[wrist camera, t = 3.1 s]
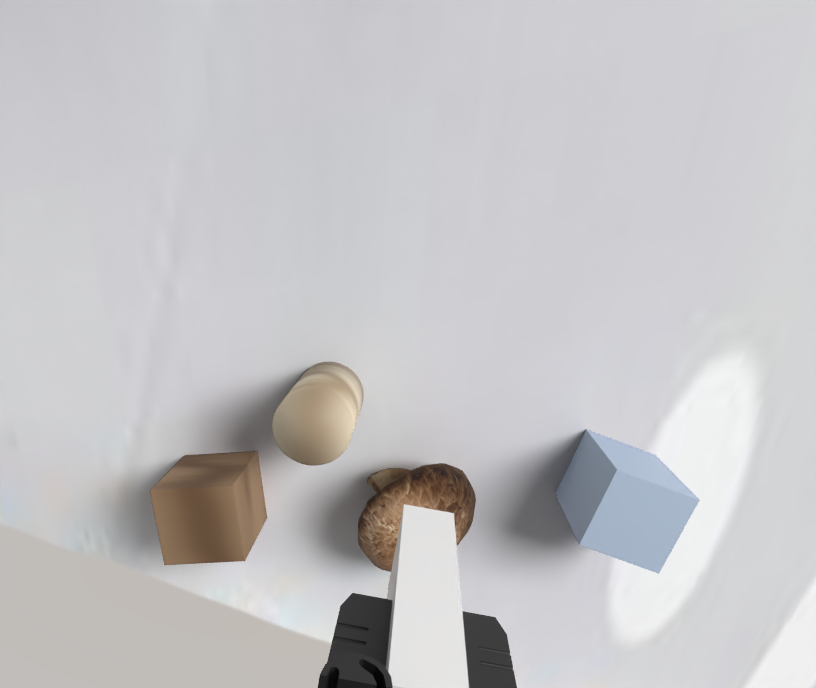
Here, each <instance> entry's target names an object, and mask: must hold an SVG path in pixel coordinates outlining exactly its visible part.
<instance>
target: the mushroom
mask: <svg viewBox="0 0 816 688" xmlns="http://www.w3.org/2000/svg"><path fill="white" fill-rule="evenodd" d="M367 483H368V484H369V485H370V486H371V487H372V488H373V489H374V490H375V491H376V493H377V494H376V495H375V496H373V497H372V498H371V499H370V500H369V501H368V502H367V504H366V506H365V508H364V510H363V512H362V514H361V516H360V518H359V524H358V542H359V545H360V547H361V549H362V550H363V552H364V553H365V554H366V555H367V557H368V558H369V559H370V560H371V562H372V563H373V564H374V565H375V566H376V567H378V568H380V569H382V570H386V571H391V570H392V565H393V560H394V554H395V549H396V544H397V539H398V533H399V528H400V523H401V518H402V512H403V507H404V504H405V505H411V506H416V507H422V508H428V509H433V510H439V511H444V512H450V513H454V520H455V532H456V543H457V545H458V544H459V543H460V541H461V540H462V539H463V537H464V536H465V535H466V533H467V532H468V530H469V528H470V526H471V524H472V521H473V515H474V508H475V501H476V499H475V493H474V490H473V488H472V486H471V484H470V482H469V480H468V479H467V477H466V475H465V474H464V472H463V471H462V470H460V469H458V468H455V467H453V466H450V465H447V464H441V463H440V464H432V465H424V466H421V467H419V468H416V469H414V470H409V469H403V468H388V469H385V470H381V471H378V472H376V473H374V474H371V475H370V476H369V478H368V480H367Z"/></svg>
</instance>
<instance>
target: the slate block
mask: <svg viewBox="0 0 816 688" xmlns="http://www.w3.org/2000/svg"><path fill="white" fill-rule="evenodd" d="M555 495H556V497H557V499H558V501H559V503H560V506H561V508H562V510H563V512H564V514H565V516H566V518H567V520H568V522H569V525H570V527H571V529H572V531H573V533H574V535H575V537H576V539H577V541H578V543H579V545H581V546H584V547H586V548H589V549H592V550H595V551H598V552H600V553H603V554H606V555H609V556H612V557H614V558H617V559H620V560H623V561H625V562H628V563H631V564H634V565H637V566H639V567H642V568H645V569H648V570H651V571H653V572H656V573H659V572H660V571H661V569H662V567H663V565H664V563H665V561H666V560H667V558H668V556H669V554H670V552H671V551H672V549H673V547H674V545H675V543H676V542H677V540H678V538H679V536H680V534H681V533H682V531H683V529H684V527H685V525H686V524H687V522H688V520H689V518H690V516H691V514H692V513H693V511H694V509H695V507H696V505H697V504H698V502H699V499H698V498H697V497H696V496H695V495H694V494H693V493H692V492H691V491H690V490H689V489H688V488H687V487H686V486H685V485H684V484H683V483H682V482H681V481H680V480H679V479H678V478H677V476H676V475H675V474H674V473H673V472H672V471H671V470H670V469H669V468H668V467H667V466H666V465H665V464H664V463H663V462H662V461H661V460H660V459H659V458H658V457H657V456H656V455H654V454H652V453H649V452H646V451H643V450H641V449H638V448H635V447H633V446H630V445H627V444H625V443H622V442H619V441H617V440H614V439H611V438H608V437H606V436H603V435H600V434H598V433H595V432H592V431H590V430H587V429H586V431H585V433H584V435H583V437H582V439H581V441H580V443H579V445H578V447H577V449H576V451H575V453H574V455H573V457H572V460H571V462H570V464H569V466H568V468H567V470H566V472H565V474H564V476H563V478H562V480H561V482H560V484H559V486H558V489H557V491H556V493H555Z"/></svg>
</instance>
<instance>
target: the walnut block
mask: <svg viewBox="0 0 816 688" xmlns="http://www.w3.org/2000/svg"><path fill="white" fill-rule="evenodd" d="M150 495H151V500H152V505H153V510H154V515H155V520H156V525H157V530H158V535H159V540H160V545H161V550H162V555H163V560H164V565H176V564H195V563H214V562H233V561H245V560H246V558H247V556H248V554H249V552H250V550H251V548H252V546H253V544H254V542H255V540H256V538H257V536H258V534H259V533H260V531H261V529H262V527H263V525H264V523H265V521H266V519H267V514H266V507H265V500H264V493H263V486H262V480H261V473H260V466H259V459H258V452H257V451H250V452H233V453H217V454H200V455H185V456H184V457H183V458H182V459H181V460H180V461H179V462H178V463H177V464H176V465H175V466H174V467H173V468H172V469H171V470H170V471H169V472H168V473H167V474H166V475H165V476H164V477H163V478H162V479H161V480H160V481H159V482H158V483H157V484H156V485H155V486H154V487H153V488H152V489H151V490H150Z"/></svg>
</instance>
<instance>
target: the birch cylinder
mask: <svg viewBox="0 0 816 688" xmlns="http://www.w3.org/2000/svg"><path fill="white" fill-rule="evenodd" d="M362 403H363V387H362V384H361V382H360V380H359V378H358V377H357V375H356V374H355V373H354V372H353V371H352V370H351V369H349V368H348V367H346V366H344V365H342V364H339V363H335V362H322V363H318V364H316V365H314V366H312V367H310V368H309V369H308V370H306V371H305V372H304V374H303V375H302V376H301V377H300V379H299V380H298V381H297V383H296V384H295V385H294V387H293V388H292V389H291V390H290V392H289V393H288V394H287V396H286V397H285V398H284V399H283V401H282V402H281V403H280V405H279V406H278V407H277V409H276V411H275V414H274V417H273V422H272V430H273V435H274V438H275V441H276V443H277V445H278V446H279V448H280V449H281V450H282V452H283V453H284V454H286V455H287V456H288V457H289V458H291V459H292V460H294V461H296V462H299V463H301V464H305V465H323V464H326V463H329V462H331V461H333V460H335V459H337V458H338V457H339V456H340V455H341V454H342V453H343V452H344V451H345V450H346V448H347V446H348V445H349V442H350V439H351V436H352V433H353V430H354V427H355V424H356V421H357V418H358V415H359V412H360V409H361V406H362Z"/></svg>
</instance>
